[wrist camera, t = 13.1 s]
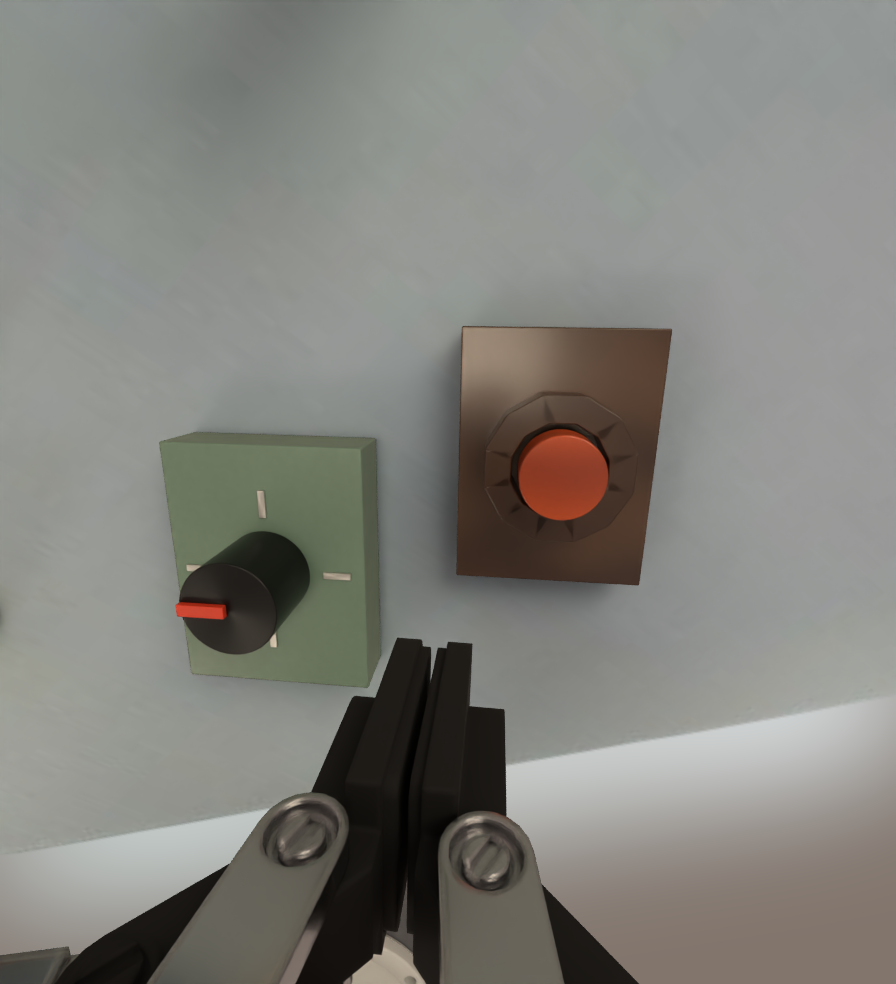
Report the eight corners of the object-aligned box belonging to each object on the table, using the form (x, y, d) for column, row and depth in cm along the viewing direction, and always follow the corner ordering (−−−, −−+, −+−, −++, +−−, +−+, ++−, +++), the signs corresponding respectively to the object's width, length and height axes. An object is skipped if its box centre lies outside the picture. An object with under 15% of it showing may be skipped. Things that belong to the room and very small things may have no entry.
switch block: (628, 567, 27) (649, 603, 23) (459, 558, 28) (453, 591, 24) (657, 330, 24) (687, 326, 20) (465, 328, 24) (458, 324, 21)
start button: (596, 510, 23) (604, 523, 21) (515, 506, 23) (516, 518, 21) (604, 429, 22) (613, 436, 20) (519, 427, 22) (521, 433, 20)
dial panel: (381, 656, 30) (367, 690, 27) (219, 644, 31) (189, 676, 28) (376, 438, 26) (360, 449, 23) (194, 431, 27) (155, 441, 24)
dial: (307, 532, 25) (269, 569, 21) (313, 613, 26) (277, 662, 22) (222, 528, 25) (167, 563, 21) (231, 608, 26) (181, 655, 22)
